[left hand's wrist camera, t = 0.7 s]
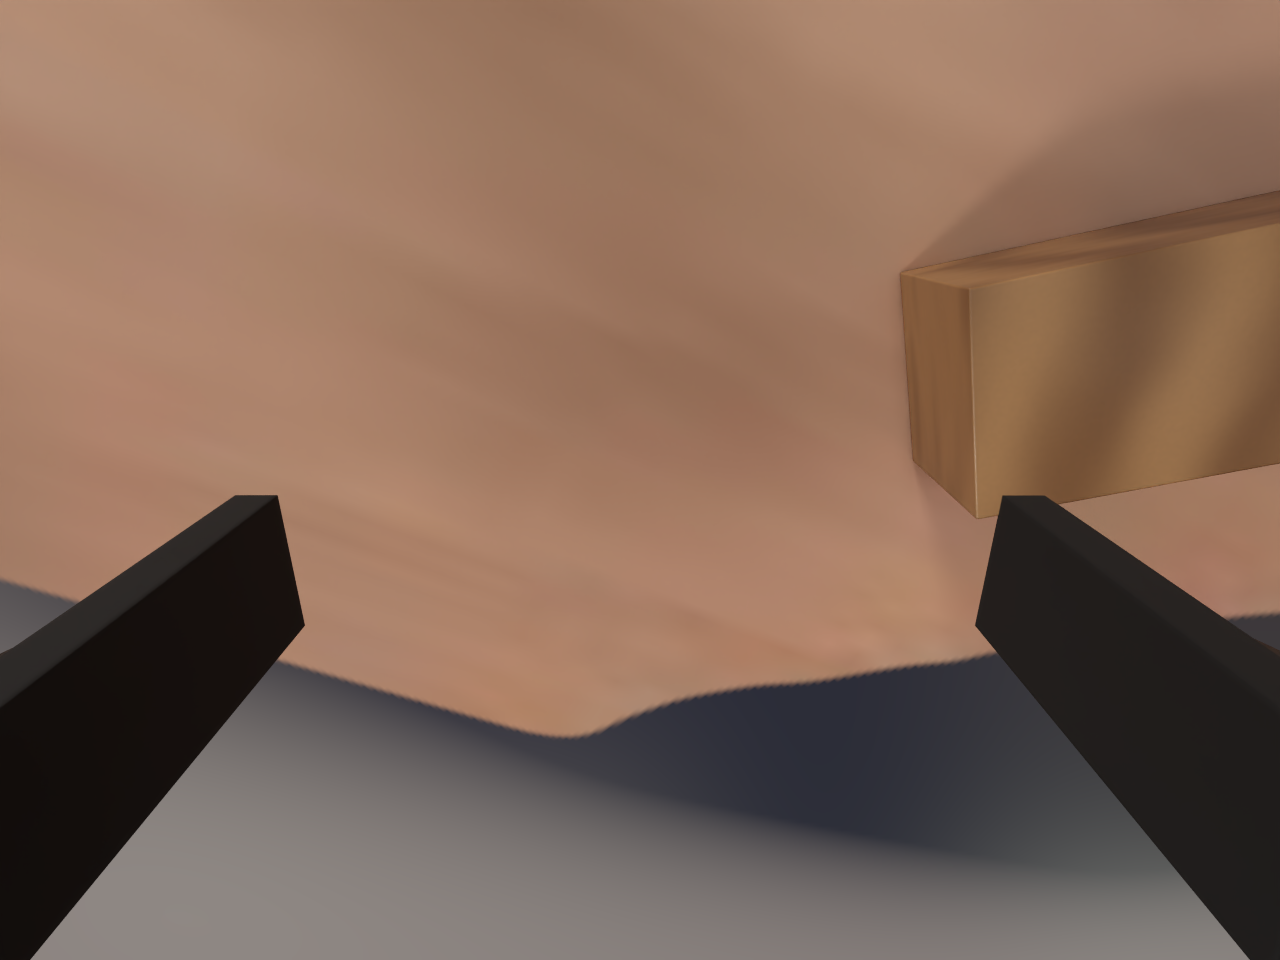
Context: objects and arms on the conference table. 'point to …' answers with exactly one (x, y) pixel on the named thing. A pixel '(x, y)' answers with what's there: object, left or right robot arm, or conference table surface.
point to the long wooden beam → (1099, 358)
